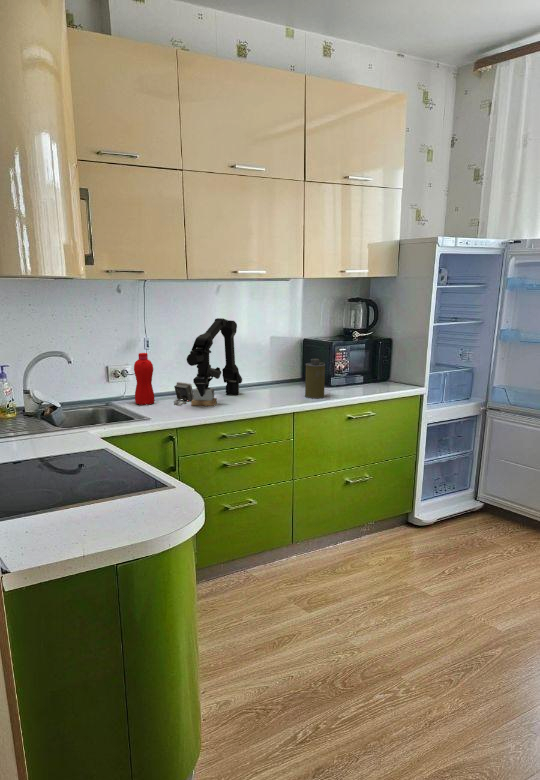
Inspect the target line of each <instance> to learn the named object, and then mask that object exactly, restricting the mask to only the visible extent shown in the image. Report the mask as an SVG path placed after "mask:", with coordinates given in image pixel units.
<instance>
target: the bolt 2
mask: <svg viewBox="0 0 540 780" xmlns="http://www.w3.org/2000/svg"><path fill="white" fill-rule="evenodd" d="M176 401H177V403H180V404H182V405H186V404H187V401H179V400H176Z"/></svg>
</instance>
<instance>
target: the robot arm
mask: <svg viewBox="0 0 540 780" xmlns="http://www.w3.org/2000/svg"><path fill="white" fill-rule="evenodd" d="M237 329H238V324H237V322H236V321H235V320H229V319H225V318H221V317H220V318H218V317H217V318H215V319H214V321H213V323H212V324H211V325H210V326H209V328H208V329H207V330H206V331H205V332H204V333H203V334H199V335H198V336H197V337H196V338H195V340H194V342H193V345H192V348H191V350H190V351H189V354H188V355H187V357H186V362H187V364H188V365H189V366H191V367H193V366H196V368H197V373H196V376H195V377H194V378H193V385H194V386H195V388H197V389H198V391H199V393H200V396H201V397H203V395H204V388H209V385H210V382H211V381H212V380H213V378H215V379H217V380H218V379H220V377H221V375H222V378H223V383H226V385H225V395H226V396H232V395H233V396H239V394H240V392H241V391H240V385H241V384H242V383H243V377H242V375H241V374H240V371H239V368H238V367H239V366H237V364H236V355H235V353H236V352H235V339H234V338H235V335H236V334H237ZM219 333H221V335H222V337H223V339H224V340H223V341H224V355H225V356H224V357H225V366H224V367H223V368H222V369H221V368H220V367H219V366H217V367H216V368H214V367H212V365H211V364H210V354H212V351H211V347H212V346H213V344H214V339H215V338H216V336H217V335H218V334H219Z"/></svg>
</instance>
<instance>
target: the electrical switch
mask: <svg viewBox="0 0 540 780" xmlns="http://www.w3.org/2000/svg"><path fill="white" fill-rule="evenodd" d="M174 391H175V395H176V399H183V400H189V401H188V402H191V401H192V400H193V399H194V389H193V386H192V384H191V383H188V382H182V381H180V382H179V381H177V382H176V385H174ZM183 400H182V401H183Z"/></svg>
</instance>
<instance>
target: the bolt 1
mask: <svg viewBox="0 0 540 780" xmlns="http://www.w3.org/2000/svg"><path fill="white" fill-rule="evenodd" d="M177 401H178V400H174V401H173V405H174V406H180V407H182V406H183V404H180V403H177ZM175 404H176V405H175ZM181 405H182V406H181Z"/></svg>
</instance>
